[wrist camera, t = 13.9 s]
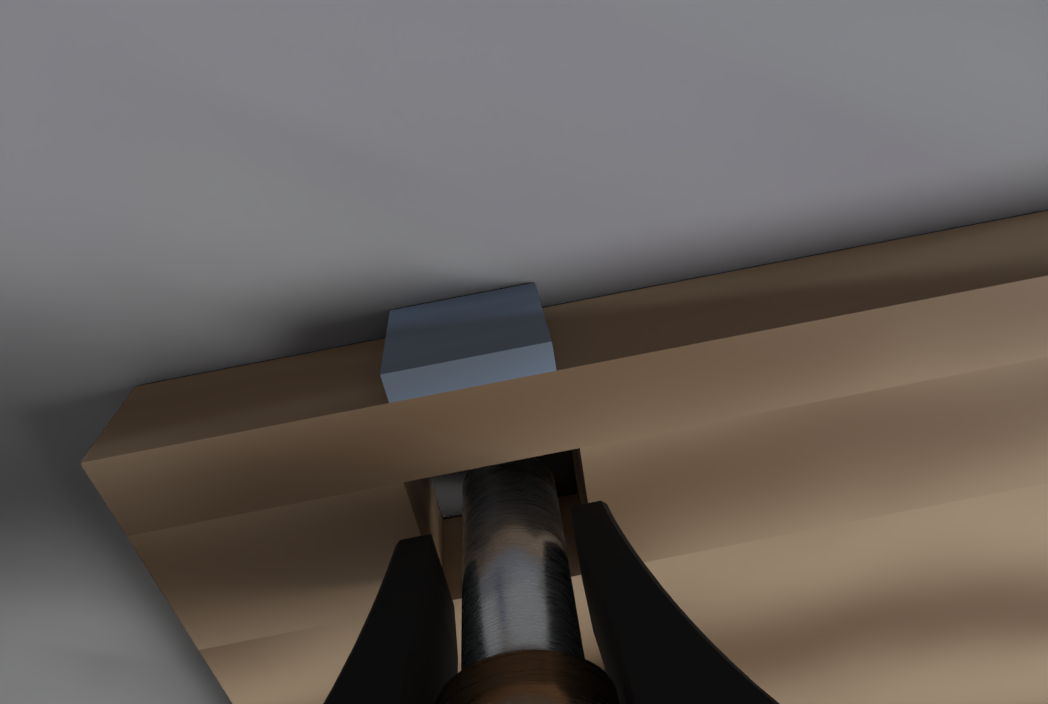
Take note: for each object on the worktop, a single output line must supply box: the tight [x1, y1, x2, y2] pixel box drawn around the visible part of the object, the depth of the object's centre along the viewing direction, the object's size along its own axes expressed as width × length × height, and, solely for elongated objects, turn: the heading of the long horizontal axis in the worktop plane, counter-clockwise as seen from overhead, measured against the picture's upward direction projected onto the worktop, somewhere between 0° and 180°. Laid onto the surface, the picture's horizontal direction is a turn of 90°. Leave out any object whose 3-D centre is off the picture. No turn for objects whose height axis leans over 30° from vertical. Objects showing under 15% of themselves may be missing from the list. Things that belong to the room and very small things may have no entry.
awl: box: [435, 457, 620, 704], centre depth 12 cm, size 3×3×7 cm
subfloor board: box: [80, 211, 1048, 704], centre depth 17 cm, size 15×26×2 cm, turn 99°
